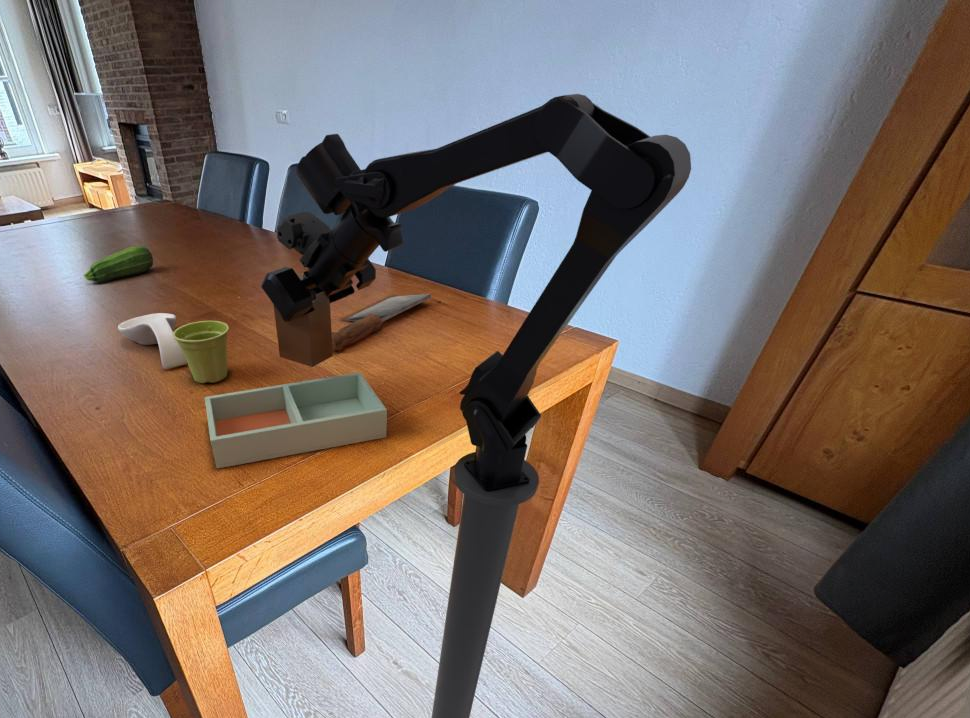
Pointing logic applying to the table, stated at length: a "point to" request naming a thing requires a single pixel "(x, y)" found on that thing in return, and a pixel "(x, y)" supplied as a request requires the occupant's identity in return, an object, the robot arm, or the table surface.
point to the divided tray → (293, 419)
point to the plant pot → (204, 349)
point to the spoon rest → (156, 336)
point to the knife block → (307, 334)
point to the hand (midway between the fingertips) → (296, 314)
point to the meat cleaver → (373, 319)
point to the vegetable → (121, 264)
